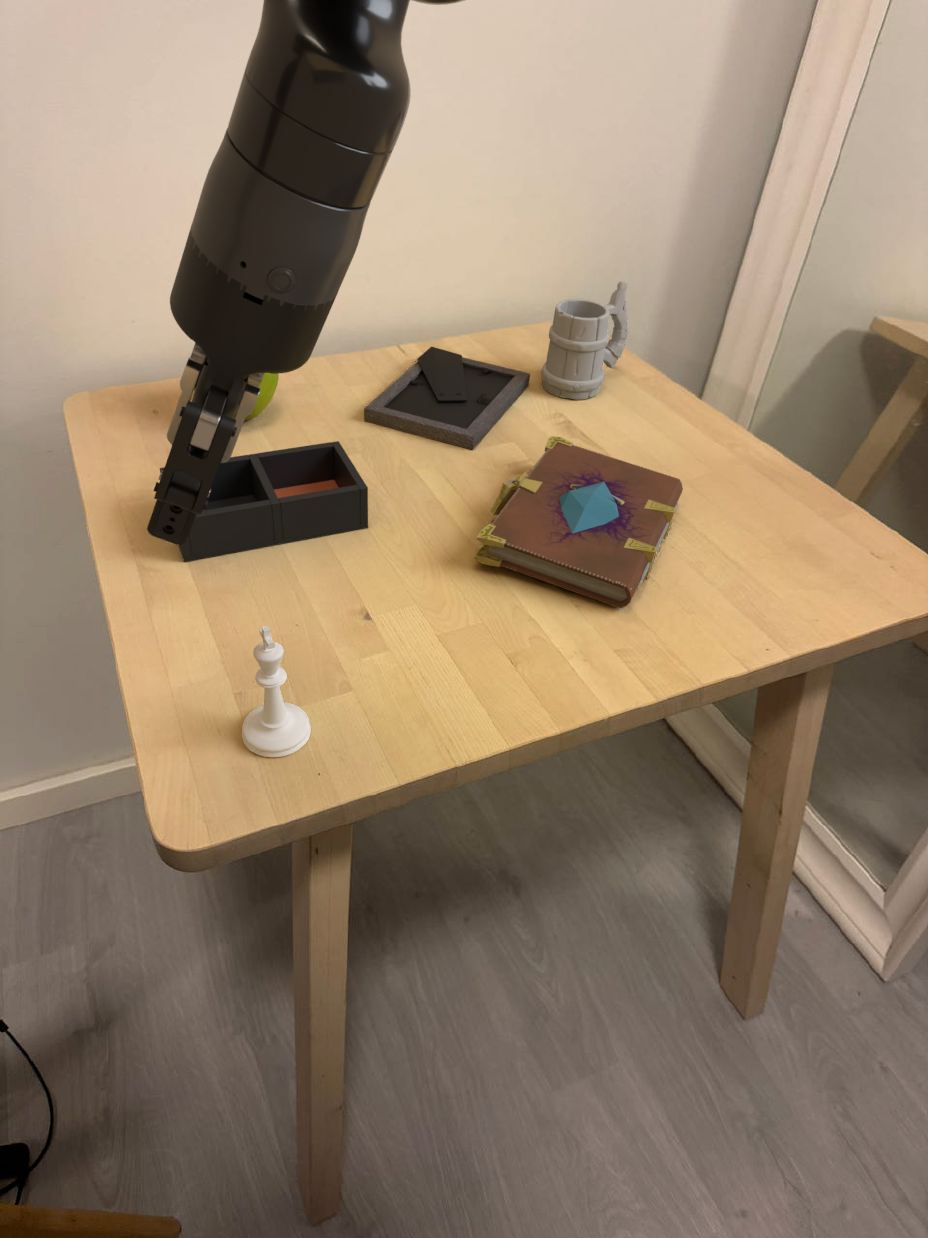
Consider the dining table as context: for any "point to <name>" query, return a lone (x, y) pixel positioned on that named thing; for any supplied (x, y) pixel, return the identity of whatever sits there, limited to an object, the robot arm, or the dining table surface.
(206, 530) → the caddy
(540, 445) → the dining table surface
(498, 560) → the book
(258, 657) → the chess piece
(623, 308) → the mug
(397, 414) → the picture frame
